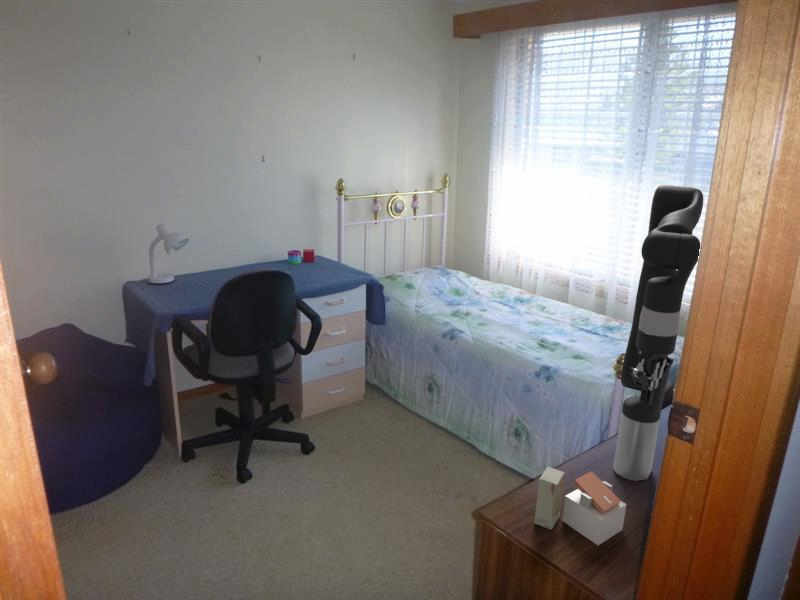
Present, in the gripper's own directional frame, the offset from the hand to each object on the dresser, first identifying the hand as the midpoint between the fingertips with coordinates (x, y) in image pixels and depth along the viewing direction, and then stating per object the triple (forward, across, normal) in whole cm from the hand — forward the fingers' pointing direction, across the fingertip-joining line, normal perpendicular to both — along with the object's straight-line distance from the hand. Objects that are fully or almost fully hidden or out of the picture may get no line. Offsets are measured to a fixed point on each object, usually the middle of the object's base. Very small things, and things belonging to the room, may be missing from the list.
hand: (645, 402), depth 128 cm
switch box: (+32, +6, -4) cm, 33 cm away
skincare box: (+32, +14, -12) cm, 37 cm away
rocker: (+24, +7, -5) cm, 26 cm away
